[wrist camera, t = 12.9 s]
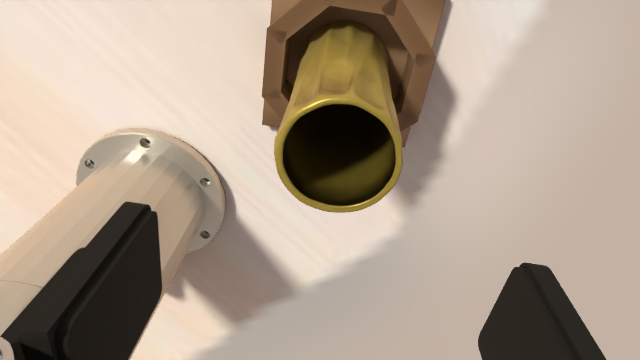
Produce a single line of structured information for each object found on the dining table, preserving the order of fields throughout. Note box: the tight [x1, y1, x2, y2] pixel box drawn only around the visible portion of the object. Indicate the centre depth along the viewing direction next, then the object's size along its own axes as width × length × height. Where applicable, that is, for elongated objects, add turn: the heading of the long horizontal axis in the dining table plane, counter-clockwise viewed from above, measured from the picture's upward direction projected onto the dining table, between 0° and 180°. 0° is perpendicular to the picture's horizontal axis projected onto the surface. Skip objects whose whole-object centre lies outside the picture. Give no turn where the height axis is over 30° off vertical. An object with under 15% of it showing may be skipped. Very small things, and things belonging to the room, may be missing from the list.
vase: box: [274, 20, 403, 212], centre depth 23 cm, size 6×6×14 cm
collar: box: [262, 0, 445, 147], centre depth 28 cm, size 11×11×4 cm
